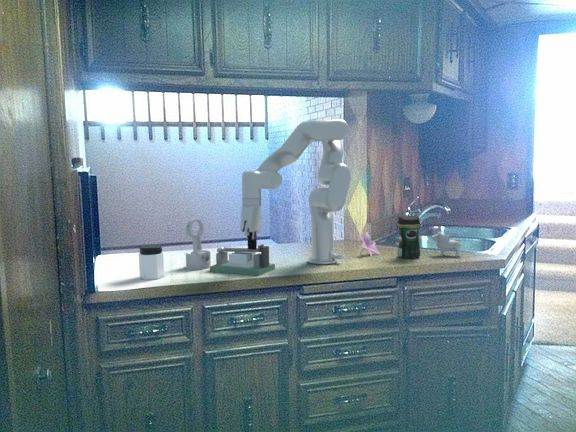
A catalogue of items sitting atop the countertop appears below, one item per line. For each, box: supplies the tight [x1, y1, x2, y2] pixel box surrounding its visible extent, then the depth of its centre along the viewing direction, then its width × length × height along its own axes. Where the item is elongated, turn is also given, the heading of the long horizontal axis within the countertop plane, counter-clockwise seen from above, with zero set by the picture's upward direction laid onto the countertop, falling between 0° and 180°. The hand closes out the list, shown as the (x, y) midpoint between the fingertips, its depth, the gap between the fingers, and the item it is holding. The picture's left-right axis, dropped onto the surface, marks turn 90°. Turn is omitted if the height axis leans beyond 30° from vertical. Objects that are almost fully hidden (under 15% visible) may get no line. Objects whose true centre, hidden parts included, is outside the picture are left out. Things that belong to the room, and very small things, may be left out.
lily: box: [358, 231, 380, 257], centre depth 245 cm, size 12×12×10 cm
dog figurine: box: [431, 231, 462, 258], centre depth 240 cm, size 5×13×11 cm, turn 69°
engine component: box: [185, 217, 212, 271], centre depth 220 cm, size 11×20×10 cm
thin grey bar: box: [216, 243, 265, 253], centre depth 215 cm, size 19×4×3 cm, turn 66°
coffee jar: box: [396, 215, 421, 259], centre depth 237 cm, size 10×8×19 cm
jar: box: [138, 244, 165, 281], centre depth 203 cm, size 9×8×12 cm
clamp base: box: [209, 245, 276, 277], centre depth 215 cm, size 22×14×10 cm, turn 66°
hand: (252, 248), depth 212 cm, fingers closed
